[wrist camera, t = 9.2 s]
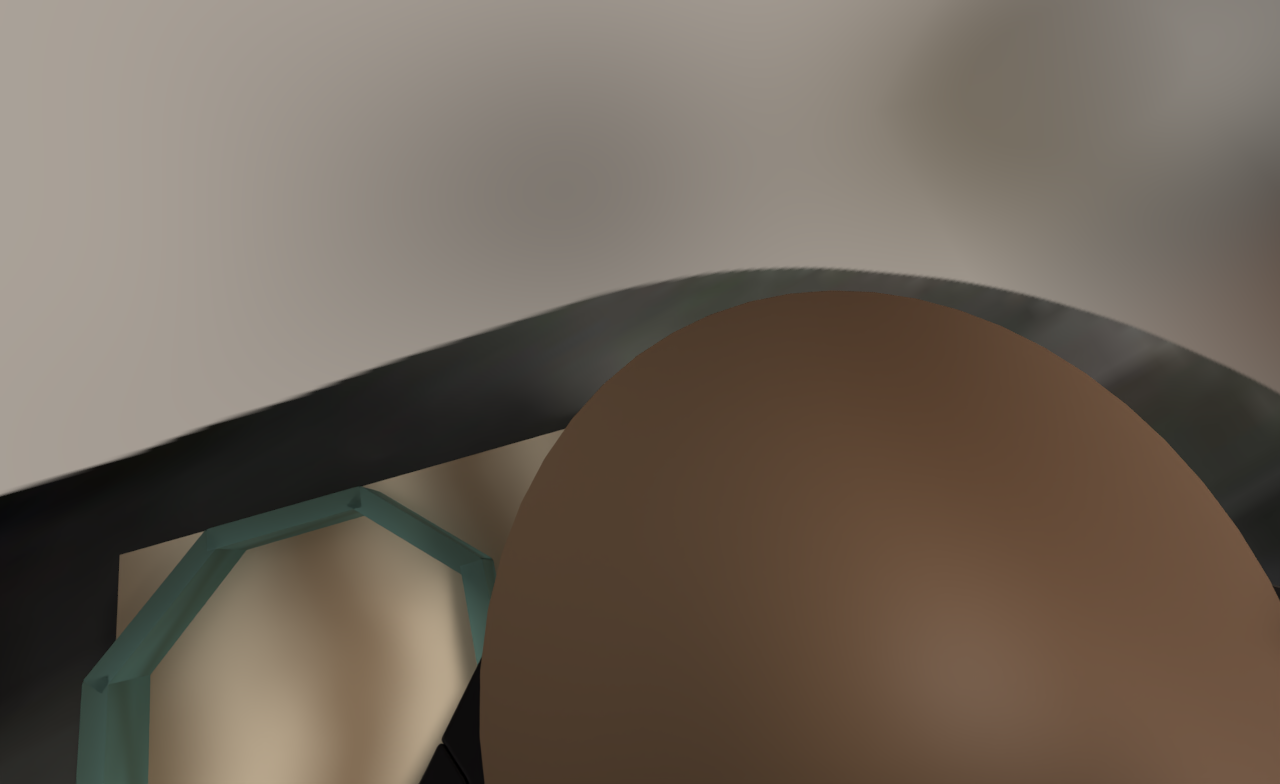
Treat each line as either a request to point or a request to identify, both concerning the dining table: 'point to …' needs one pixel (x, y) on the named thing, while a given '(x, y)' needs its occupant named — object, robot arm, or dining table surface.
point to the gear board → (306, 634)
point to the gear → (872, 572)
